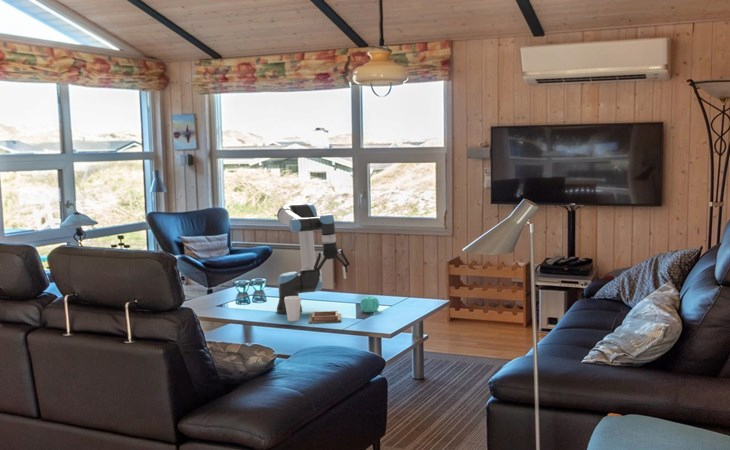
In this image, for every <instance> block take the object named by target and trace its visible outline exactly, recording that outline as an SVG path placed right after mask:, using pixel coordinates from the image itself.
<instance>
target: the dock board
mask: <svg viewBox="0 0 730 450" xmlns="http://www.w3.org/2000/svg"><path fill="white" fill-rule="evenodd" d="M338 312H339V311H338V310H329V311H328V310H326V311H325V310H323V311H312V314H309V317H308V324H309V325H310V324H329V323H330V324H331V323H335V324H336V323H342V313H338Z"/></svg>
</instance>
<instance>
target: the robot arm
mask: <svg viewBox="0 0 730 450" xmlns="http://www.w3.org/2000/svg"><path fill="white" fill-rule="evenodd" d="M276 213H277V214H276V216H277V219H278V221H279V222H280V223H281V224H283V225H288V227H289V230H290V232H292V233H298V237H299V240H298V241H299V248H300V249H299V250H300V261H301V269H300V270H299V273H298V272H297V271H288V272H284V273H281V274H280V275H279V276H278V279H277V280H278V281H277V282H278V298H279V299H278V303H277V306H276V313H277V314H282V315H284V314H285V315H287V312H286V306H285V302H284V298H285V297H288V296H299V294H305V293H306V294H307V293H315V292H319V291H321V290H322V288H323V284H324V276H323V275H324V274H323V273H322V270H321V269H322V267H323V266H324V264H325V262H326V261H327V260H334V259H336V260H337V261H338V262H339V263H340V264H341V265H342V275H343V276H342V278H343V279H344V280H346V279H347V274H346V273H348V266H350V261H349V259H348V258H347V257H346V255H345V254H344V251H343V249H338V248H337V247H338V246H337V238H336V237H337V236H336V227H335V218H334V214H332V213H323V214H321V215H320V216H318V212H317V209H316V207H315V205H314V204H313V203H310V202H308V203H307V202H302V203H301V202H300V203H288V204H285V205H283V206H281V207H280V208H279V209H278V211H277V212H276ZM317 231H320V232H321V240H322V251H321V252H320V251H317V257H316V251H315V241H314V232H317ZM338 254H340V256H341V257H342V259H341V258H340V257H339V256H338ZM322 256H323V258H322ZM321 258H322V259H321ZM302 311H303V306H302V303H300V313H301V312H302Z"/></svg>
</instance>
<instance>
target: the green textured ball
mask: <svg viewBox="0 0 730 450" xmlns="http://www.w3.org/2000/svg"><path fill="white" fill-rule="evenodd" d="M379 307H380V302H379V299H378V298H377V297H375V296H363V297H362V298H361V300H360V308H361V311H363V312H364V313H374V312H375V313H376V312H377V311H378V309H379Z"/></svg>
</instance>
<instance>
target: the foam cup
mask: <svg viewBox="0 0 730 450" xmlns="http://www.w3.org/2000/svg"><path fill="white" fill-rule="evenodd" d="M284 302H285V306H286V312H287V314H286V316H287V317H286V318H287V321H288V322H298V321H299V320H300V313H301V312H300V303H301V302H302V297H301V296H288V297H285V298H284ZM301 304H302V303H301Z"/></svg>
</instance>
